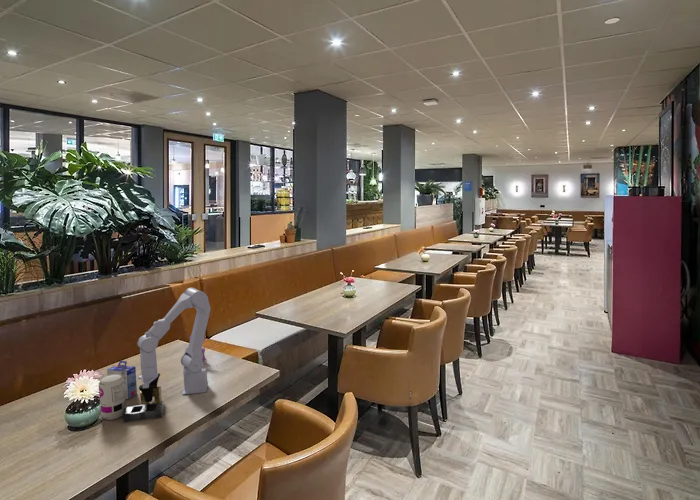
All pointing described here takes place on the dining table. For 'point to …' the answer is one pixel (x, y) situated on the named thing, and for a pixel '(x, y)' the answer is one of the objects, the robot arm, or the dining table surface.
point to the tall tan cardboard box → (155, 394)
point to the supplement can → (112, 396)
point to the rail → (143, 412)
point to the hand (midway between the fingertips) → (151, 397)
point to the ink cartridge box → (126, 377)
